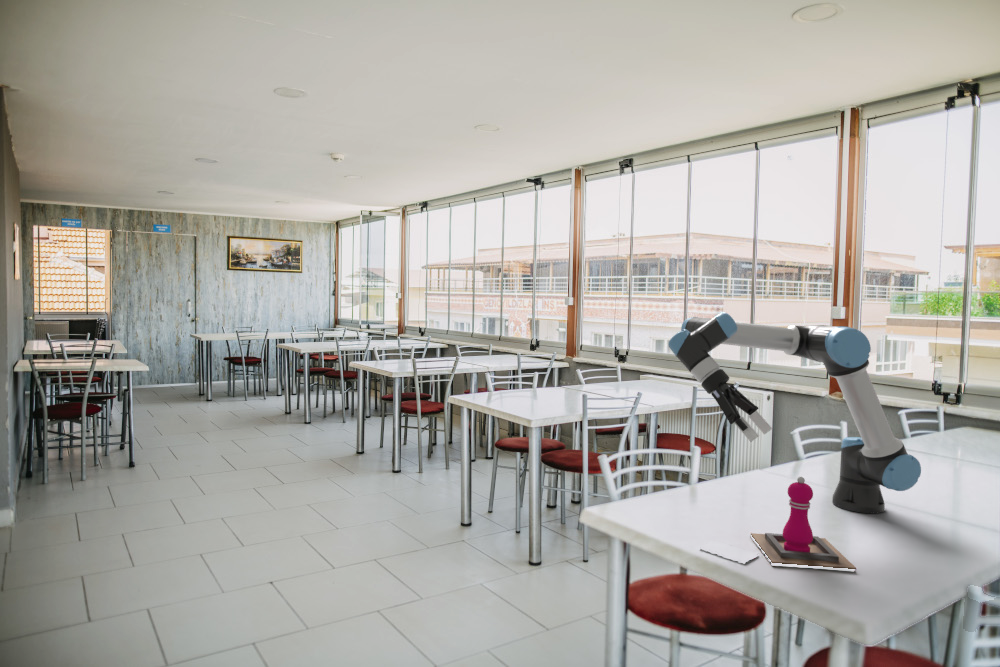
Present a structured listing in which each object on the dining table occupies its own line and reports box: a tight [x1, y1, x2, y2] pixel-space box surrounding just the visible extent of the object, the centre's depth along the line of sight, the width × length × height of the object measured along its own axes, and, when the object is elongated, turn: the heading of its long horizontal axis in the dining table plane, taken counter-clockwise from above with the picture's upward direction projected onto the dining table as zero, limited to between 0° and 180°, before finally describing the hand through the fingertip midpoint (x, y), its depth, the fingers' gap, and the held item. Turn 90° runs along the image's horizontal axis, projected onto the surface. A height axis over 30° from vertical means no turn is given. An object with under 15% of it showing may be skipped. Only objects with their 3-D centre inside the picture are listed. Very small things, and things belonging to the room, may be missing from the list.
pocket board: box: [750, 532, 857, 570], centre depth 171 cm, size 20×20×3 cm
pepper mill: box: [782, 476, 814, 552], centre depth 168 cm, size 7×7×20 cm
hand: (762, 435), depth 178 cm, fingers open, 13 cm apart
